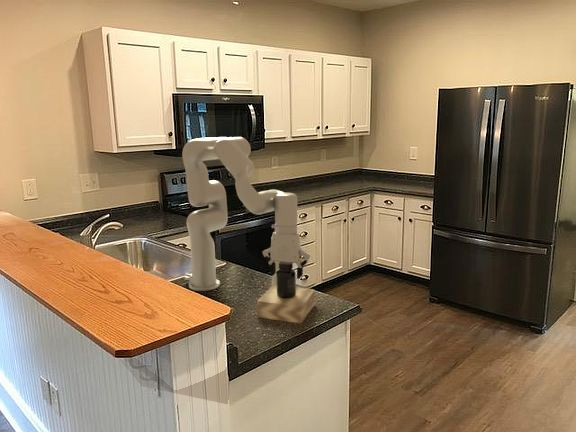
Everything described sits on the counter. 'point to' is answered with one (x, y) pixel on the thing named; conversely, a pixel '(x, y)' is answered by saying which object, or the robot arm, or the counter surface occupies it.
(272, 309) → the maple block
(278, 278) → the supplement bottle
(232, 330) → the counter surface
